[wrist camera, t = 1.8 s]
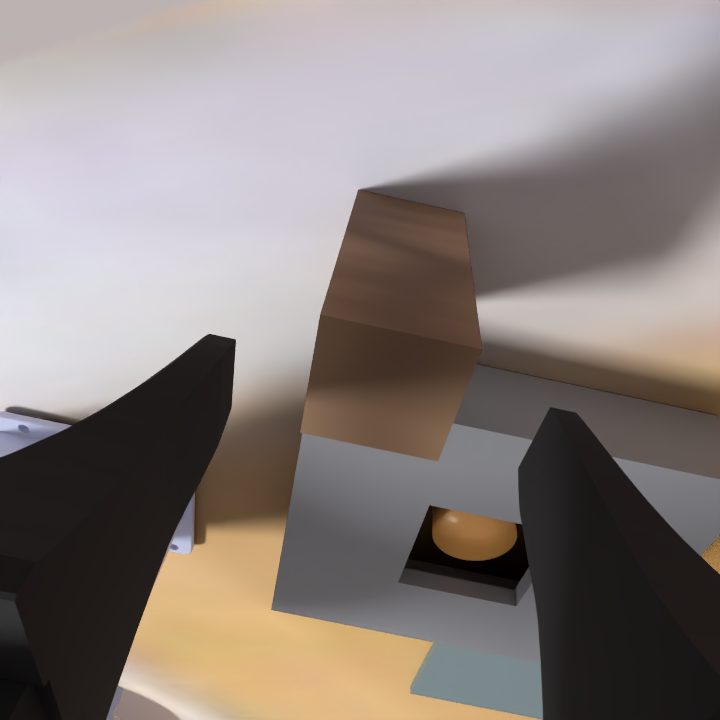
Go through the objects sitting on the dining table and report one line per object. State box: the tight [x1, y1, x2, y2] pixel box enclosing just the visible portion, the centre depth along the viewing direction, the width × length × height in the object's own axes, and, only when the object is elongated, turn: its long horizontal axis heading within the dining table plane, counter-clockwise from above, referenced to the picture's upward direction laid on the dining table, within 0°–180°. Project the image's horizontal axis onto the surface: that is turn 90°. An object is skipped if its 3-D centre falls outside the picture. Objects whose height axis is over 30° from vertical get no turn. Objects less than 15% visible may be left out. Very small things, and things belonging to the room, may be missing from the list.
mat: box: [410, 642, 543, 719], centre depth 35 cm, size 10×10×1 cm
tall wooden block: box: [300, 190, 482, 461], centre depth 16 cm, size 4×4×8 cm
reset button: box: [432, 506, 517, 561], centre depth 25 cm, size 4×4×1 cm
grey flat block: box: [271, 364, 720, 664], centre depth 25 cm, size 16×14×4 cm
